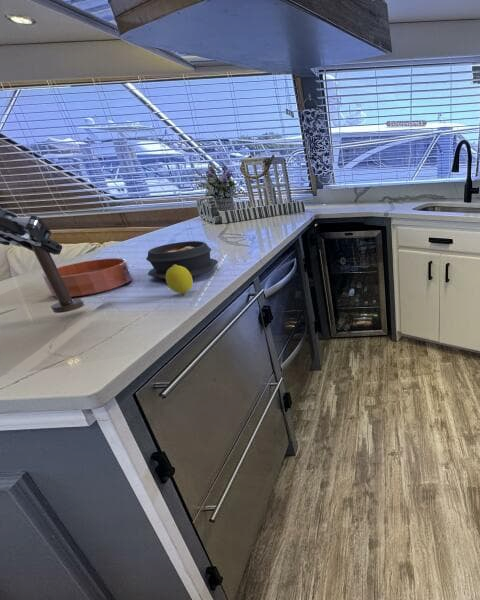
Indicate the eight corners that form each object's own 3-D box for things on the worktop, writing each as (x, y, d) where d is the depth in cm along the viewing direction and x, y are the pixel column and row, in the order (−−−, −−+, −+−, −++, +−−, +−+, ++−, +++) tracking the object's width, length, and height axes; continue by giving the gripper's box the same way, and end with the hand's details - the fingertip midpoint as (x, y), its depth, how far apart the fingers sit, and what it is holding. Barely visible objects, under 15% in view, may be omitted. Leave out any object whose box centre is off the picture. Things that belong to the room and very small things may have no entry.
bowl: (36, 303, 81) (24, 281, 79) (76, 281, 96) (67, 262, 94) (116, 293, 86) (107, 272, 83) (142, 274, 101) (135, 255, 98)
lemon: (200, 292, 84) (191, 263, 80) (178, 300, 79) (167, 269, 76) (190, 289, 86) (180, 260, 83) (167, 296, 82) (157, 266, 79)
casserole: (228, 274, 97) (221, 247, 93) (153, 291, 86) (142, 261, 83) (210, 259, 114) (204, 235, 111) (147, 271, 104) (137, 245, 100)
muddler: (47, 314, 65) (6, 236, 59) (62, 305, 70) (25, 231, 63) (76, 310, 67) (39, 234, 60) (89, 302, 71) (55, 229, 64)
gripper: (-7, 172, 51) (92, 234, 67) (-94, 176, 51) (26, 236, 67) (-28, 212, 48) (80, 266, 64) (-121, 215, 48) (11, 268, 64)
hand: (52, 250), depth 65 cm, fingers closed on muddler
